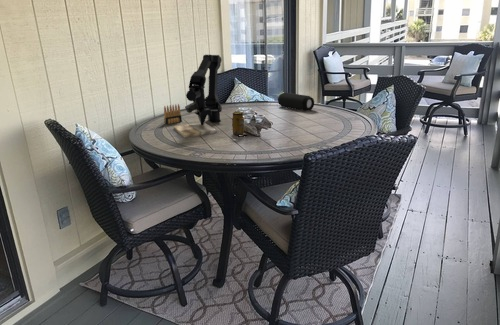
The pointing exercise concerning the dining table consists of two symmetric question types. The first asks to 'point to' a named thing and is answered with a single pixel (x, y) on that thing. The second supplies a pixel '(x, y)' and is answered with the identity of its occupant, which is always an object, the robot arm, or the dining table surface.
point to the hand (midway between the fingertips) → (202, 124)
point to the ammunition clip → (172, 115)
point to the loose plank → (203, 128)
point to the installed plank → (186, 131)
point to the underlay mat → (185, 137)
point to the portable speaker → (296, 101)
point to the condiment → (238, 123)
